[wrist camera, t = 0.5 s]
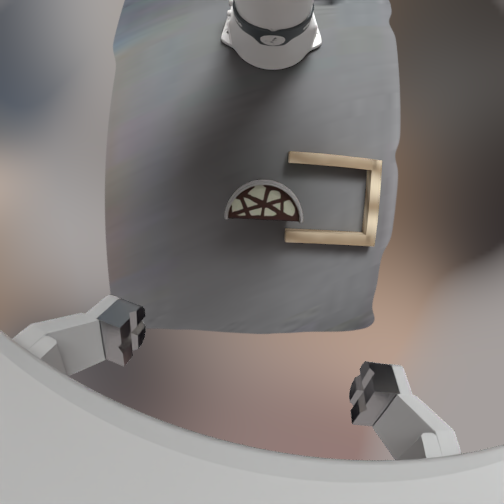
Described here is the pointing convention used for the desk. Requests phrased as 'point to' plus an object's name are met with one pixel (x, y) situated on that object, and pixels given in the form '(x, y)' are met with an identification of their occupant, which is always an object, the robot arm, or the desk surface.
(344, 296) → the desk surface
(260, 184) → the food container
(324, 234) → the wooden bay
